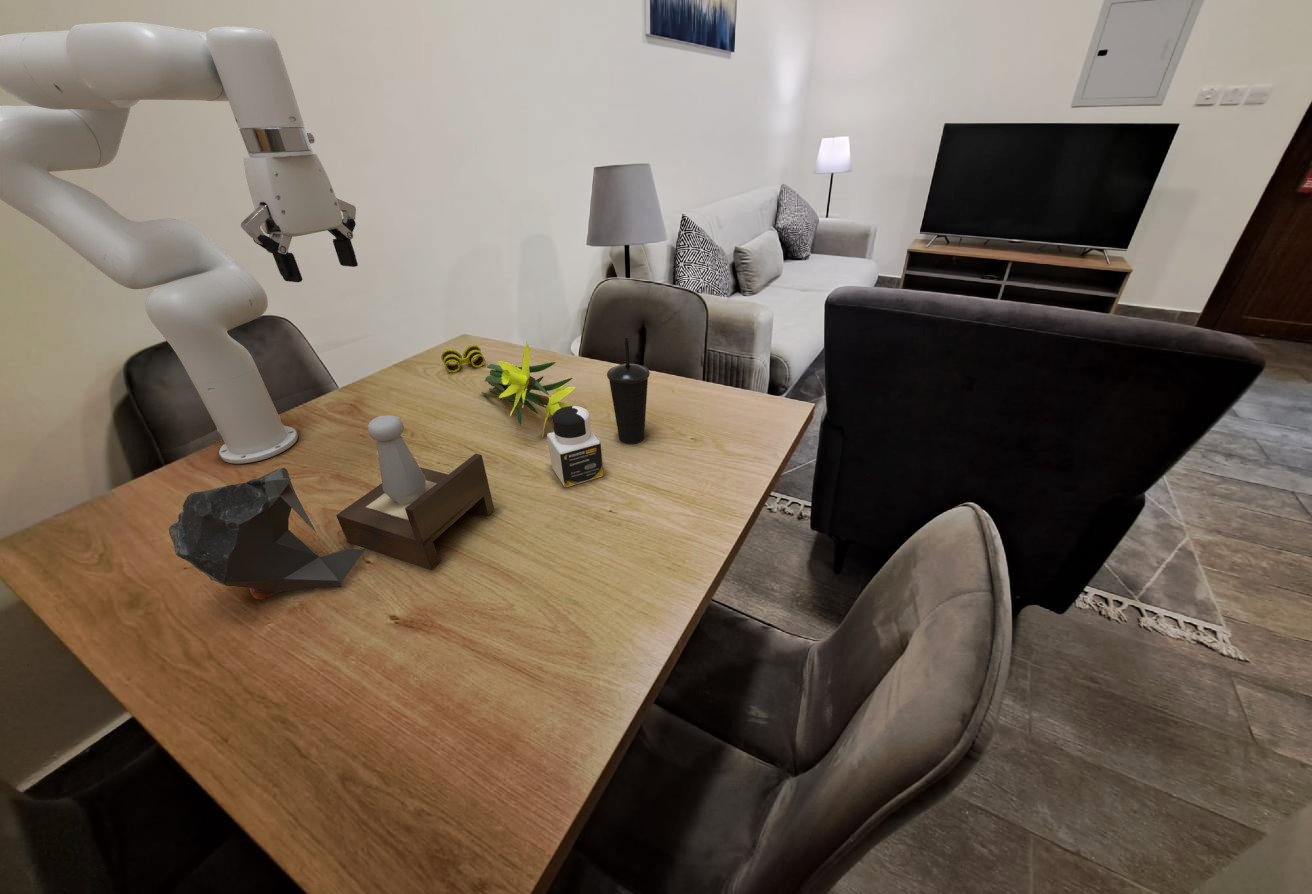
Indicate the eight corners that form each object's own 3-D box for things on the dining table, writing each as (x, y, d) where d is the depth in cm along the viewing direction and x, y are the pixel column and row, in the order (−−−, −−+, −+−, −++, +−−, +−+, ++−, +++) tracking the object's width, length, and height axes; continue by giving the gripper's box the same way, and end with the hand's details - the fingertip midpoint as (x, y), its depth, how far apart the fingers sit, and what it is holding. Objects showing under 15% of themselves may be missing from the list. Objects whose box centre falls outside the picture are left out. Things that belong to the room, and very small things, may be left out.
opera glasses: (447, 377, 130) (443, 359, 127) (443, 366, 133) (439, 349, 130) (487, 369, 134) (484, 352, 131) (481, 358, 137) (478, 341, 134)
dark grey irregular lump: (270, 547, 78) (214, 443, 69) (372, 547, 78) (329, 442, 68) (196, 625, 66) (116, 512, 56) (316, 626, 65) (256, 512, 56)
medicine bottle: (564, 488, 88) (556, 426, 82) (551, 467, 94) (542, 407, 87) (604, 476, 91) (598, 415, 85) (589, 457, 96) (582, 398, 90)
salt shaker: (437, 488, 80) (415, 413, 73) (411, 511, 75) (384, 433, 68) (406, 482, 82) (381, 407, 75) (378, 504, 77) (349, 426, 70)
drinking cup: (646, 449, 98) (643, 347, 87) (607, 446, 99) (598, 345, 89) (655, 429, 104) (652, 331, 94) (617, 426, 106) (611, 329, 95)
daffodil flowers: (541, 381, 127) (611, 395, 98) (500, 427, 123) (560, 456, 95) (488, 329, 118) (548, 329, 89) (443, 378, 115) (490, 393, 86)
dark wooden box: (347, 541, 78) (322, 484, 72) (416, 489, 89) (399, 435, 83) (431, 570, 73) (411, 510, 67) (494, 510, 84) (481, 454, 78)
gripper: (315, 141, 79) (352, 259, 88) (192, 147, 66) (250, 285, 75) (351, 140, 77) (385, 262, 86) (231, 147, 63) (287, 290, 72)
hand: (322, 273), depth 80 cm, fingers open, 9 cm apart
